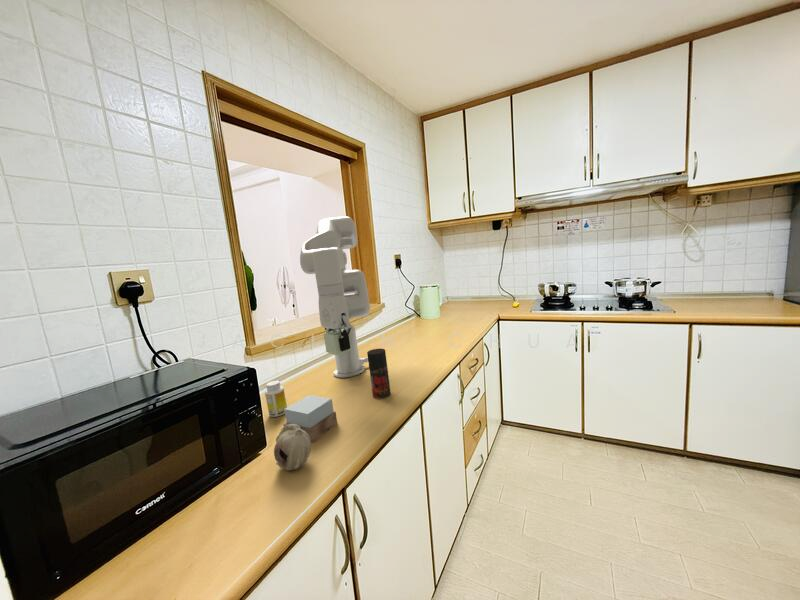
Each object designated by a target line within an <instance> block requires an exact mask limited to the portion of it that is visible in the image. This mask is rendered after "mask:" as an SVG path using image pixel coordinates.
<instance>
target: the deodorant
mask: <svg viewBox="0 0 800 600" xmlns="http://www.w3.org/2000/svg"><path fill="white" fill-rule="evenodd" d="M386 353H387V352H386V349H384V348H373V349H370V350H368V351H367V352H366V354H367V357H368V362H367V363H368V368H369V375H370V383H371V384H370V385H371V391H372V392H371V393H372V397H373V398H374V399H376V398H377V400H378V399H379V400H380V399H381V398H382V399H386V398H388V397H390V396H391V395H390V394H391V392H392V391H391V386H390V385H391V384H390V379H389V378H390V376H389V370H388V369H389V368H388V361H387V354H386ZM389 395H390V396H389ZM385 397H386V398H385Z"/></svg>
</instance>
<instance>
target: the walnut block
mask: <svg viewBox="0 0 800 600" xmlns="http://www.w3.org/2000/svg"><path fill="white" fill-rule="evenodd" d="M333 411H334V412H333V413H332V414H330V415H329V416H327V417H326V418H324V419H323V420H322V421H320V422H319V423H317V424H316V425H314V426H313V427H311V428H306V427H302V426H300V428H301V429H302V430H304V431H305V432H306V433H307V434H308V435H309V437H310V439H311V444H314V443H315V442H316V441H318V439H320V438H321V437H322V436H323V435H326V433H327V432H328V431H330V430H331V429H332V428H334V427H335V426H336V425H337V424H338V418H337V413H336V410H333ZM288 424H290V423H287V422H285V423H283V424H282V426H283V427H284V426H285V425H288Z"/></svg>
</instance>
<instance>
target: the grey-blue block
mask: <svg viewBox="0 0 800 600" xmlns="http://www.w3.org/2000/svg"><path fill="white" fill-rule="evenodd" d="M332 400H333V399H332V398H329V397H323V396H318V395H312V394H311V395H310V394H307V395H306V396H304V397H303V398H301V399H299V400H297V401H296V402H294V403H292V404H290V405H288V406H287V408H285V409H284V411H285V414H284V415H285V421H286V422H287V423H290V424H297V425H298V426H302V427H306V428H311V427H313V426H314V425H316V424H317V423H319V422H320V421H322V420H323V419H324V418H326V417H327V416H329V415H330V414H332V413H333V412H334V411H335V410H334V406H333V401H332ZM286 422H285V423H286Z"/></svg>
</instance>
